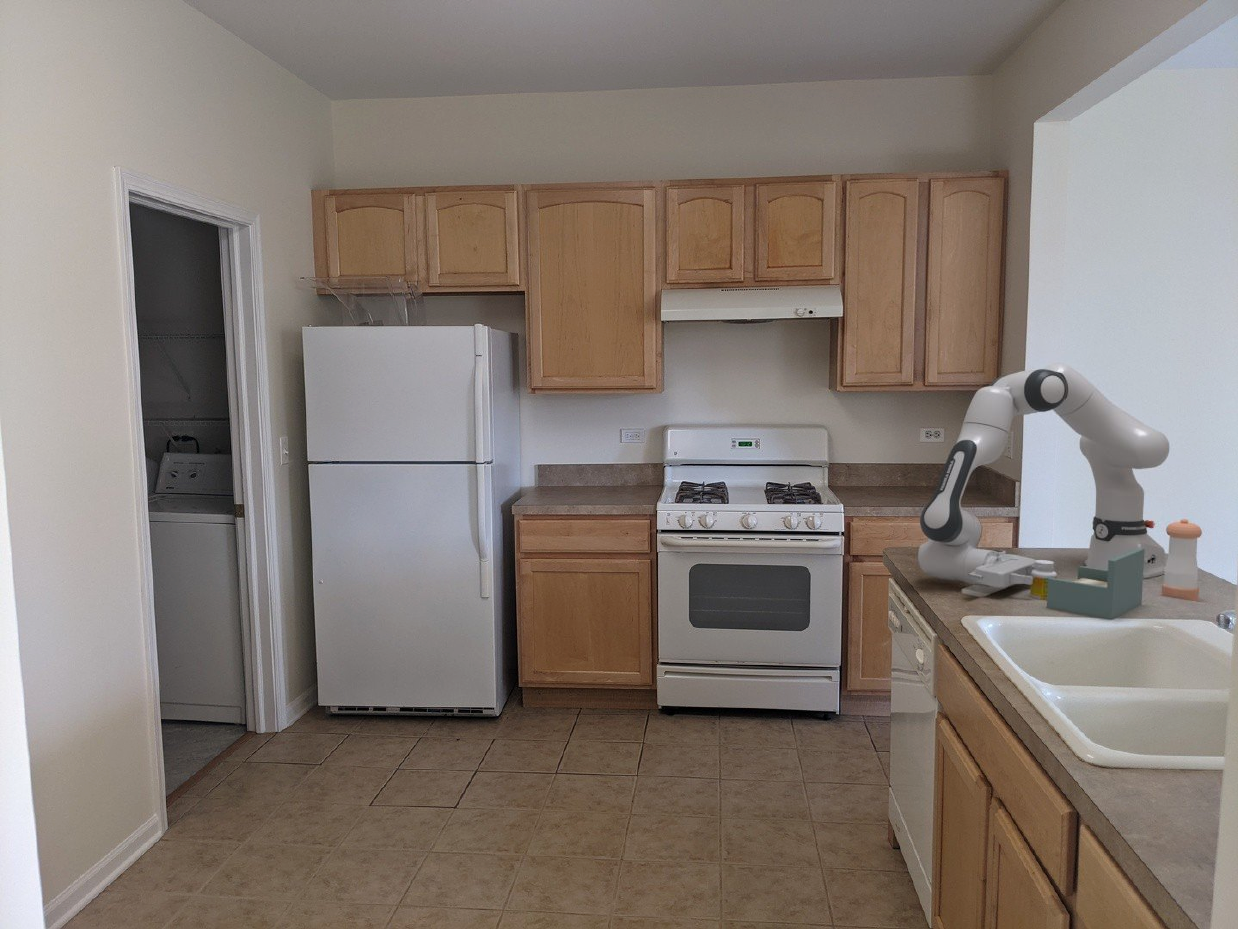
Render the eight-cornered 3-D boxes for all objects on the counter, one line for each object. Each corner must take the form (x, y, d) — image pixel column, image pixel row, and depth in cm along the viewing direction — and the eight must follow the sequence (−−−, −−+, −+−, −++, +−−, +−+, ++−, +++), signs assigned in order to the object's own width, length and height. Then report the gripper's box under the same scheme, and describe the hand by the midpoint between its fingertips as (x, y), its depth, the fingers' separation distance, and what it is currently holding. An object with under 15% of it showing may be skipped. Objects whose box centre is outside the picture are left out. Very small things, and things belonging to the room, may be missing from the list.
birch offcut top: (1060, 592, 196) (1060, 585, 196) (1082, 584, 203) (1082, 578, 203) (1103, 600, 189) (1103, 593, 189) (1124, 591, 196) (1124, 585, 196)
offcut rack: (1046, 614, 195) (1049, 551, 194) (1078, 599, 207) (1081, 540, 206) (1111, 626, 185) (1114, 561, 184) (1141, 610, 198) (1144, 548, 196)
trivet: (961, 593, 214) (961, 589, 214) (980, 586, 220) (981, 582, 220) (1002, 601, 206) (1003, 596, 206) (1021, 593, 213) (1021, 589, 213)
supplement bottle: (1043, 607, 201) (1045, 565, 200) (1024, 601, 206) (1026, 560, 205) (1060, 604, 203) (1062, 562, 202) (1041, 599, 208) (1043, 558, 207)
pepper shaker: (1163, 595, 211) (1168, 515, 209) (1199, 600, 206) (1205, 518, 204) (1158, 601, 205) (1163, 519, 203) (1195, 606, 201) (1201, 523, 199)
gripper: (963, 561, 207) (1023, 571, 197) (1002, 549, 221) (1060, 557, 211) (962, 587, 208) (1022, 598, 198) (1001, 573, 221) (1059, 583, 211)
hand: (1042, 577), depth 204 cm, fingers open, 8 cm apart
